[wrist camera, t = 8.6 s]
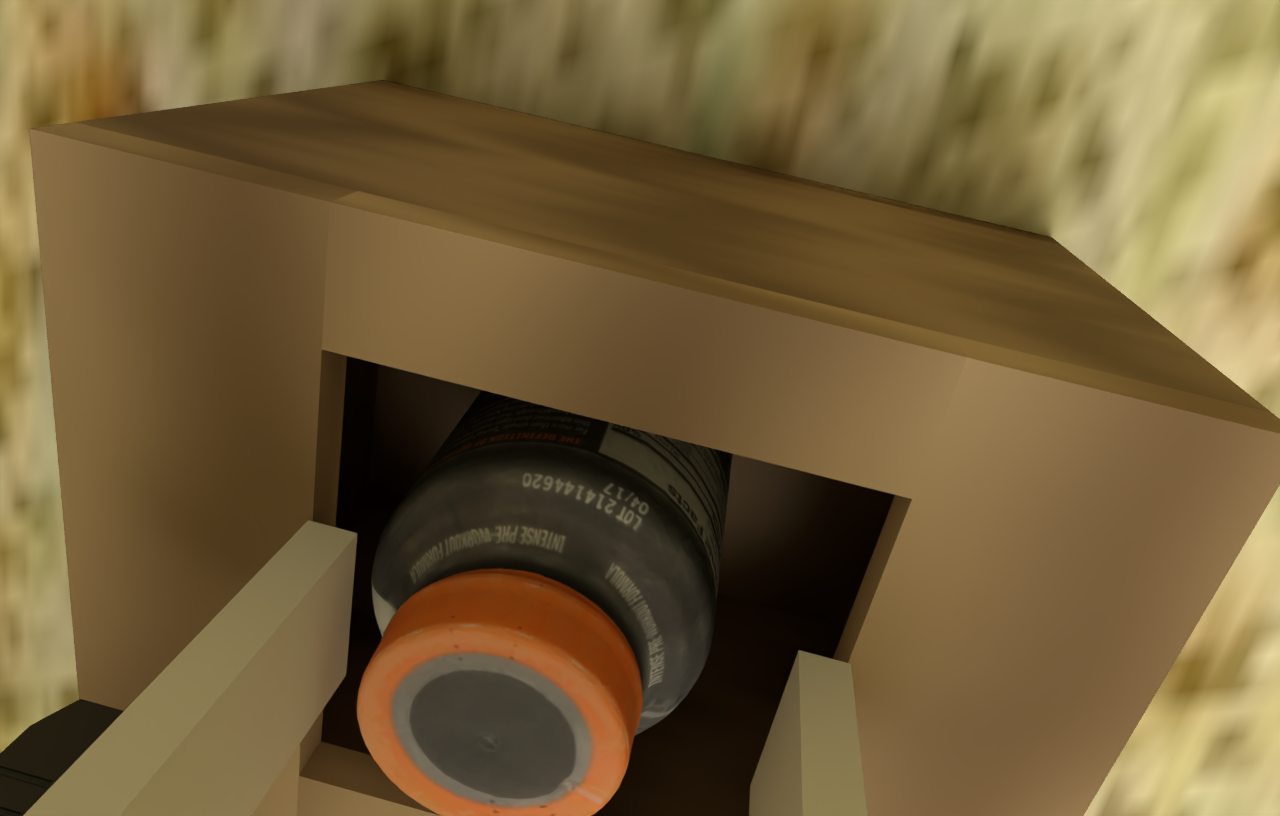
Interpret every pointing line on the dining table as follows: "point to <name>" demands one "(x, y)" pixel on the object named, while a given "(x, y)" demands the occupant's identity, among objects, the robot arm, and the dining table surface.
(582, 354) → the deposit box
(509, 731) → the pill bottle
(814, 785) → the robot arm
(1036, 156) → the dining table surface
